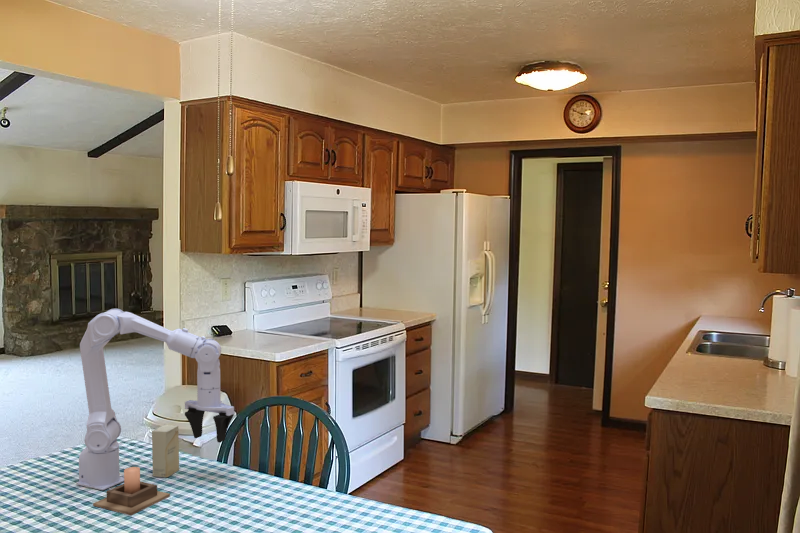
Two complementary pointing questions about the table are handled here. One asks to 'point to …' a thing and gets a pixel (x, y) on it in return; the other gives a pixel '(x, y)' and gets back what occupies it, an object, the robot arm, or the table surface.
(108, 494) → the holder
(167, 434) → the skincare box
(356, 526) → the table surface
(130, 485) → the peg
